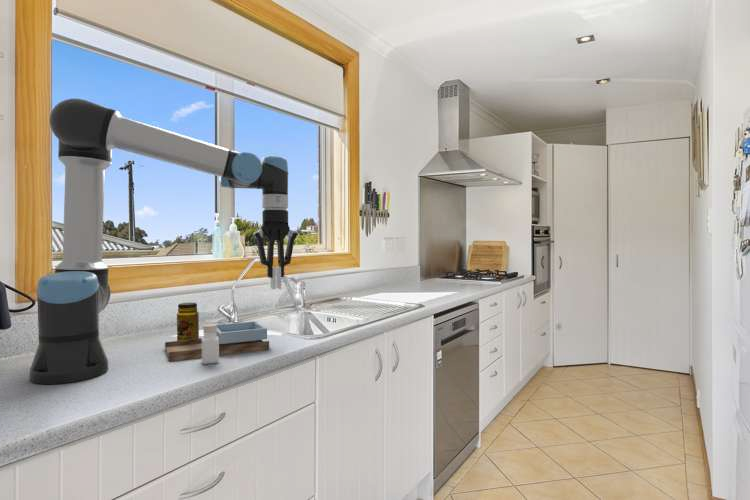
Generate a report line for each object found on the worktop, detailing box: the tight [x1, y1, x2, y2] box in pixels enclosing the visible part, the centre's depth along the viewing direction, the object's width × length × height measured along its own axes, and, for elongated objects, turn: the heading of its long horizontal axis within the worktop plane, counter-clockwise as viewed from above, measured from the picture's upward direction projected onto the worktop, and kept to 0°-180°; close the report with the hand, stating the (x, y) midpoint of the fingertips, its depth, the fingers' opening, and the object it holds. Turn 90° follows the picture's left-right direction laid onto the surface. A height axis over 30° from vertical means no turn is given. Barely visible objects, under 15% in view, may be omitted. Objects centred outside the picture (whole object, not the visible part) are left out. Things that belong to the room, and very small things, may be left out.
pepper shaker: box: [201, 323, 220, 365], centre depth 116 cm, size 4×4×10 cm
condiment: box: [176, 302, 202, 341], centre depth 138 cm, size 7×8×12 cm
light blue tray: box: [216, 320, 268, 346], centre depth 132 cm, size 13×13×5 cm
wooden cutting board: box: [164, 337, 270, 362], centre depth 129 cm, size 26×14×2 cm, turn 119°
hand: (275, 288), depth 137 cm, fingers closed
